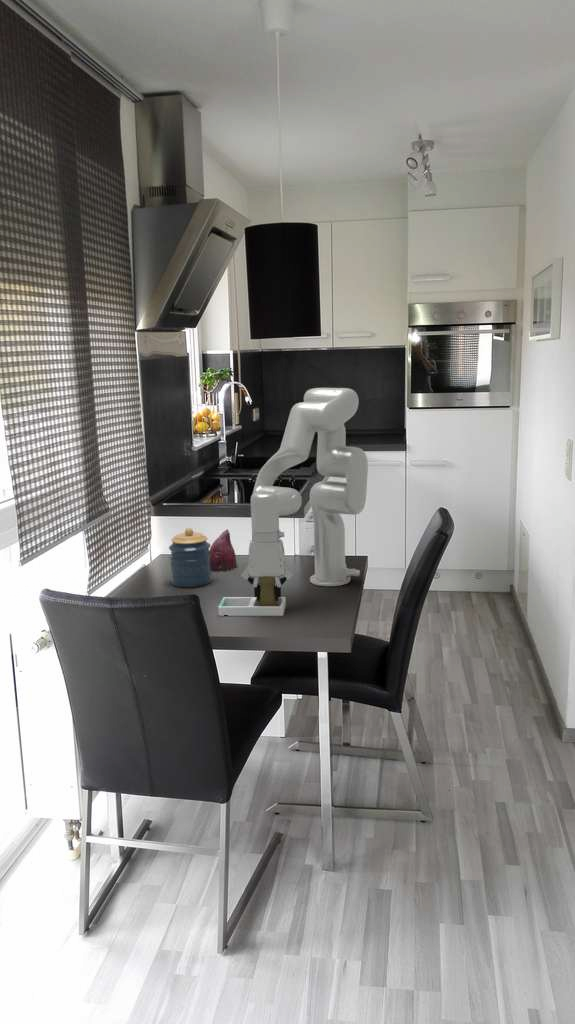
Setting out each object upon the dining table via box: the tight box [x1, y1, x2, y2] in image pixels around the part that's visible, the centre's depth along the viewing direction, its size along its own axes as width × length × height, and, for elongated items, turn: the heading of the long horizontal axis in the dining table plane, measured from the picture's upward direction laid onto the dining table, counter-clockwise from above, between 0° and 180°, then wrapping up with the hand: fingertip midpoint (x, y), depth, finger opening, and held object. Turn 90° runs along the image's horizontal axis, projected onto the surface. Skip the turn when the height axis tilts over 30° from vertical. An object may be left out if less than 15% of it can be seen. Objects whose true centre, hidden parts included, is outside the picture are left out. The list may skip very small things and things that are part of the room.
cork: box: [258, 576, 278, 606], centre depth 231 cm, size 6×6×11 cm
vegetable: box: [209, 529, 238, 572], centre depth 277 cm, size 10×10×15 cm
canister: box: [168, 527, 213, 588], centre depth 261 cm, size 13×13×18 cm
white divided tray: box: [217, 596, 287, 617], centre depth 232 cm, size 18×9×2 cm, turn 85°
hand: (268, 599), depth 231 cm, fingers open, 4 cm apart
